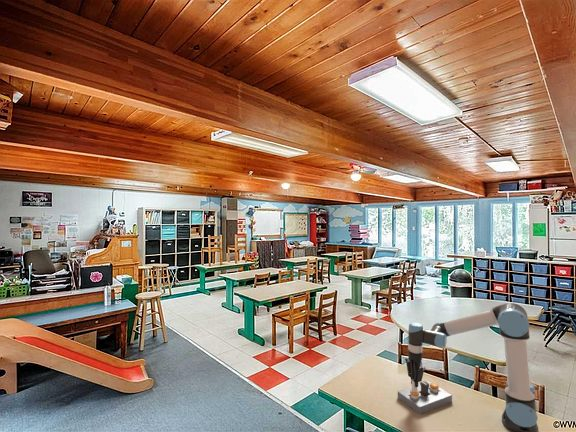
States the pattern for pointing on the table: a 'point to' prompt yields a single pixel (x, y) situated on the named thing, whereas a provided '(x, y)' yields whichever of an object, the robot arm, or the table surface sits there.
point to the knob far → (434, 387)
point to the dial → (424, 388)
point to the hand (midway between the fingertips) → (414, 391)
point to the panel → (425, 399)
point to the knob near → (414, 394)
